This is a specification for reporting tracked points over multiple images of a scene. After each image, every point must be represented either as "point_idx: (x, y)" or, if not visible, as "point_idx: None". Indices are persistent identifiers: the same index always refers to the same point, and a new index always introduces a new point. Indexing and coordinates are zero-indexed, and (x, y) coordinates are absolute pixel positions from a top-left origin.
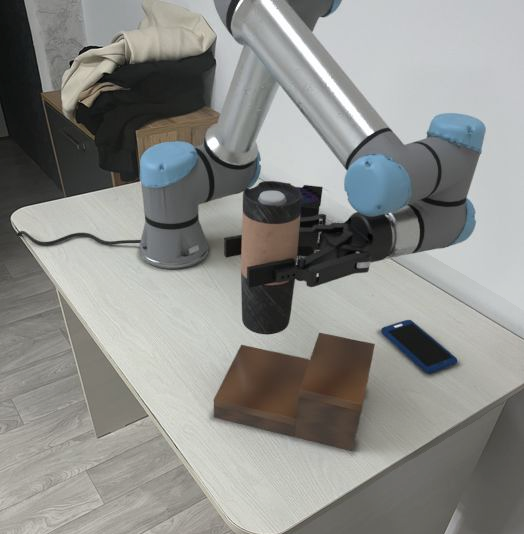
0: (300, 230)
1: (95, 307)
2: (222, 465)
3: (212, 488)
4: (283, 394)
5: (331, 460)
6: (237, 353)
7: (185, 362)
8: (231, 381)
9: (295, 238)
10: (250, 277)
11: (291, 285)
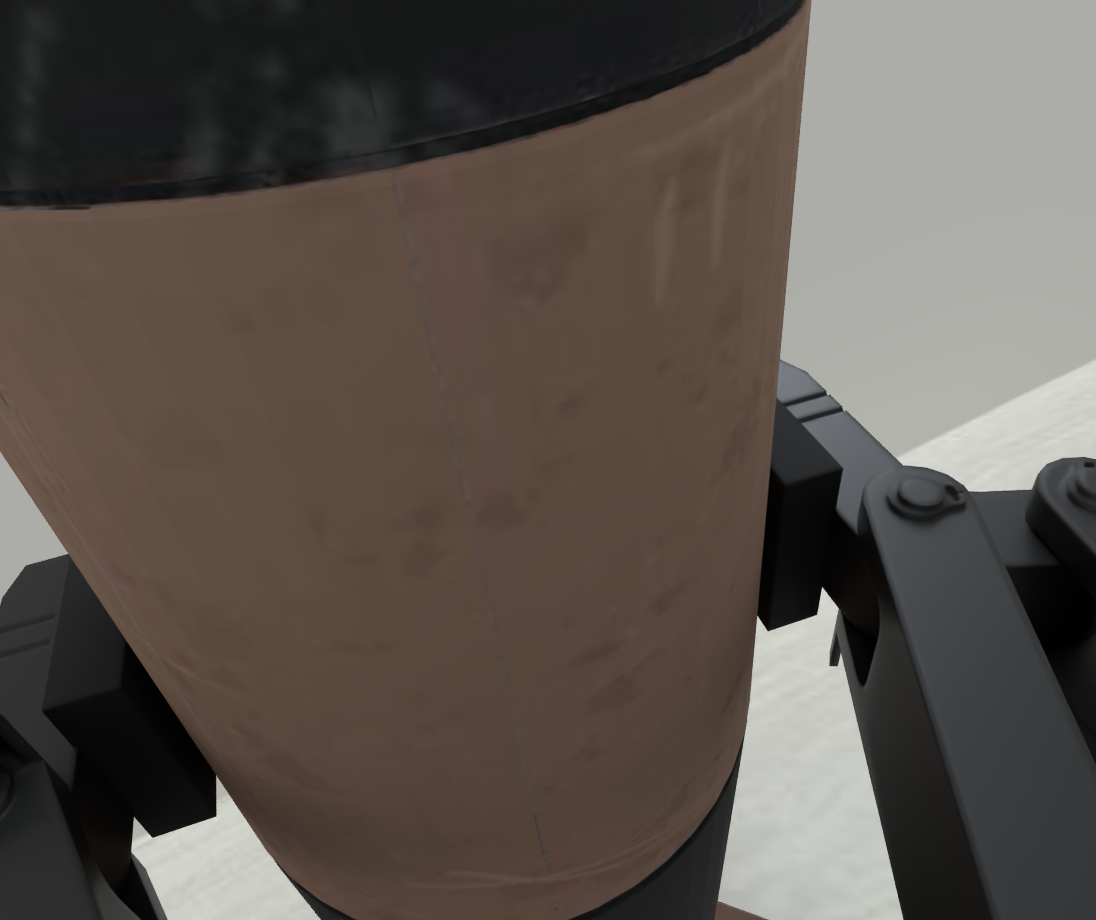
0: (1031, 914)
1: (1003, 448)
2: (222, 874)
3: (147, 840)
4: None
5: None
6: (732, 909)
7: (760, 731)
8: None
9: (62, 531)
10: None
11: (316, 909)
